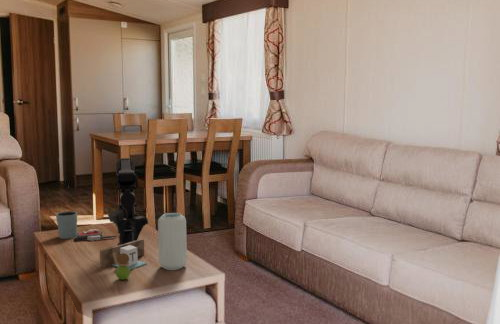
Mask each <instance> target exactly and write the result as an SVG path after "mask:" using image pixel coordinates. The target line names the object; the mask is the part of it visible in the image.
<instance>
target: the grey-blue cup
mask: <svg viewBox="0 0 500 324" xmlns="http://www.w3.org/2000/svg"><path fill="white" fill-rule="evenodd" d="M55 219H56V223H57V230H58V231H57V232H58V238H59V239H62V240H68V239H70V238H71V239H74V238H77V233H78V212H77V211H75V210H72V211H68V210H67V211H61V212H57V213H56V214H55Z"/></svg>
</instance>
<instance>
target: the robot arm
mask: <svg viewBox="0 0 500 324" xmlns="http://www.w3.org/2000/svg"><path fill="white" fill-rule="evenodd" d="M135 169H136V166H135V162H134V161H132V159H131V158H130V157H125V158H124V157H122V158H119V160H118V161H117V162H116V163H115V173H116V181H117V182H116V184H117V185H116V186H117V191H119V201H120V202H119V204H118V205H117V209H115V210H112V211H111V212H110V213H108V214H107V217H108V219H109V221H110V223H114V224H115V226H116V228H117V234H119V235H118V237H119V238H118V239H119V240H118V241H119V242H118V243H117V244H118V245H121V244H125V243H129V242H132V241H136V240H139V237H140V233H141V232H142V230H143V228H144V227H145V226H146V225H147V224H148V218H147V217H146V216H143V215H138V213H136V211H135V210H136V209H135V207H137V206H138V204H137V203H136V196H135V190H137V189H138V187H139V181H138V180H139V179H138V175H137V174H136V170H135Z"/></svg>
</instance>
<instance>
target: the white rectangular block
mask: <svg viewBox="0 0 500 324" xmlns="http://www.w3.org/2000/svg"><path fill="white" fill-rule="evenodd" d="M122 253H125V254H127V255H128V256H129V261H128V263H129V265H127V266H132V265H135V264H138V261H139V260H138V257H139V256H137V247H134V246H131V245H129V246H125V247H122V248H120V254H122Z"/></svg>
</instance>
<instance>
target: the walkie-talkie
mask: <svg viewBox="0 0 500 324" xmlns="http://www.w3.org/2000/svg"><path fill="white" fill-rule="evenodd" d="M111 238H117V235H105V236H103V232H102V231H101V230H99V229H98V228H96V229H88V230H87V231H85V230H82V232H80V231H79V232H77V237H75V238H73V241H74V240H75V241H78V242H80V241H81V240H83V241H89V240H90V241H91V242H93V241H95V240H96V241H101V240H103V239H111ZM81 242H82V241H81Z"/></svg>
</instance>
